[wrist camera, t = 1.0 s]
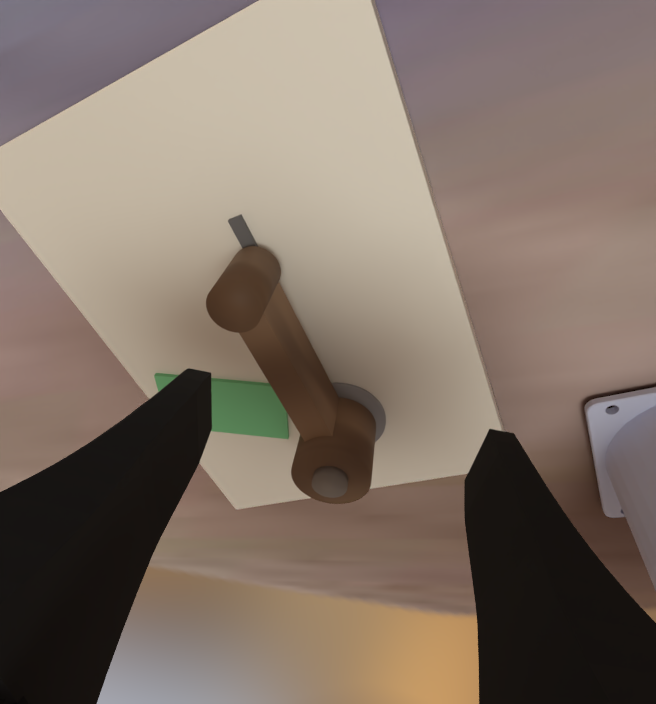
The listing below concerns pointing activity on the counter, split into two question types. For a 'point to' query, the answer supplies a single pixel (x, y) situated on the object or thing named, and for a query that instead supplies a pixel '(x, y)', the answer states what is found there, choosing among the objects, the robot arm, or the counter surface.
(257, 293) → the wooden crank handle
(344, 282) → the dial board
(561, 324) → the counter surface
